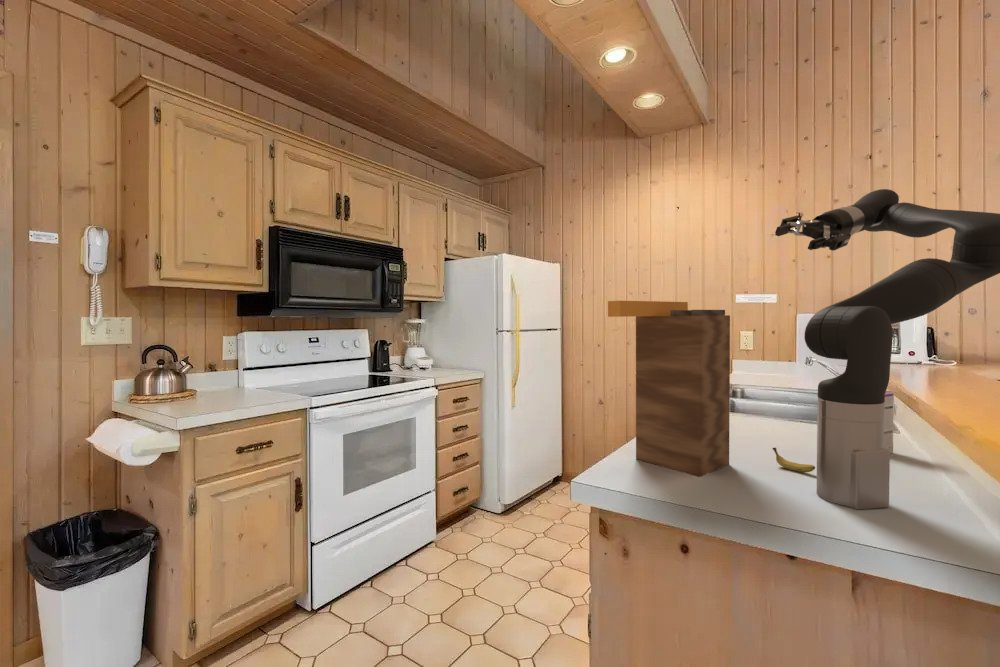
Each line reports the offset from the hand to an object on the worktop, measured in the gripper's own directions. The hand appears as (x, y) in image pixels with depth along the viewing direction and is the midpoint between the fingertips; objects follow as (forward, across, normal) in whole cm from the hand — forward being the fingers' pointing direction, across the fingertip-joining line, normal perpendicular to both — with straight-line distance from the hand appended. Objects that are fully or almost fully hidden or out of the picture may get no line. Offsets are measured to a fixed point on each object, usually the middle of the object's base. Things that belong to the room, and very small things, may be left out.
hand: (793, 238), depth 109 cm
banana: (+27, +32, +32) cm, 53 cm away
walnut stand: (+43, +18, +35) cm, 59 cm away
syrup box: (-1, +35, +40) cm, 53 cm away
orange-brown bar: (+40, -1, +9) cm, 41 cm away
